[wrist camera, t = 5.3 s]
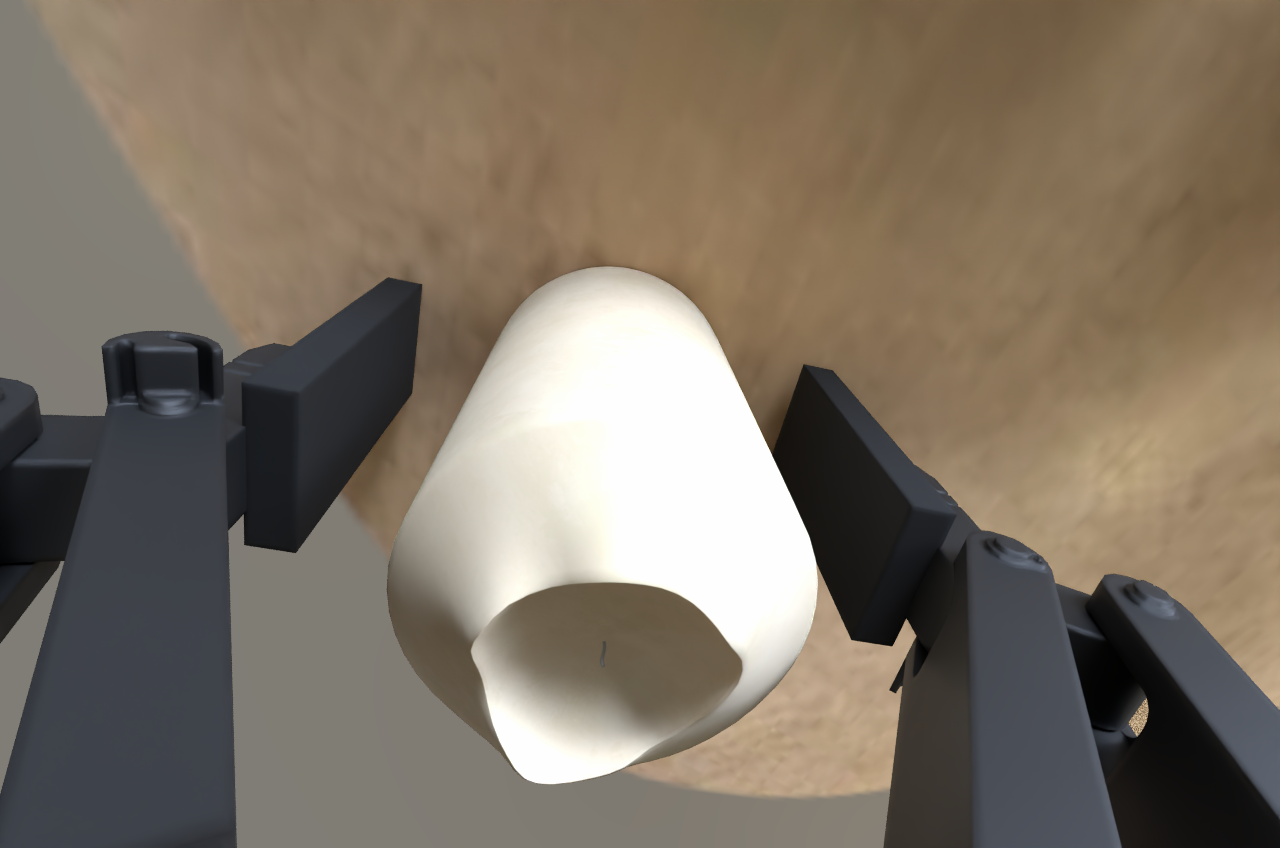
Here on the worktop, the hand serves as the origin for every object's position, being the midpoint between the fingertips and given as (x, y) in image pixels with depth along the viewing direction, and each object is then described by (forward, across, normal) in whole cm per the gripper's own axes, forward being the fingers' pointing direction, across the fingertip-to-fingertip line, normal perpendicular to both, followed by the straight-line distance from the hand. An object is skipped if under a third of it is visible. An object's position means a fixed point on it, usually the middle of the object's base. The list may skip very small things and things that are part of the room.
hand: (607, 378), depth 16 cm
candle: (0, 0, 0) cm, 0 cm away
